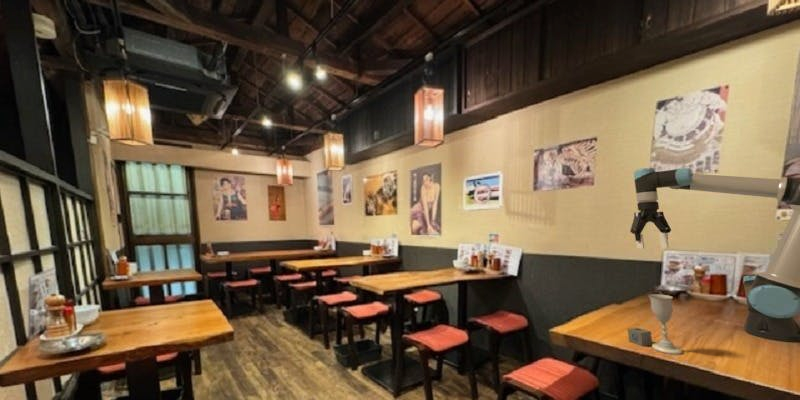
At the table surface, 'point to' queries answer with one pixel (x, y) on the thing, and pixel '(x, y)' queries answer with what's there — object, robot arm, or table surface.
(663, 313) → the chalice
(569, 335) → the table surface
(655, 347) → the coaster
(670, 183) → the robot arm
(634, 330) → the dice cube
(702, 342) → the table surface
